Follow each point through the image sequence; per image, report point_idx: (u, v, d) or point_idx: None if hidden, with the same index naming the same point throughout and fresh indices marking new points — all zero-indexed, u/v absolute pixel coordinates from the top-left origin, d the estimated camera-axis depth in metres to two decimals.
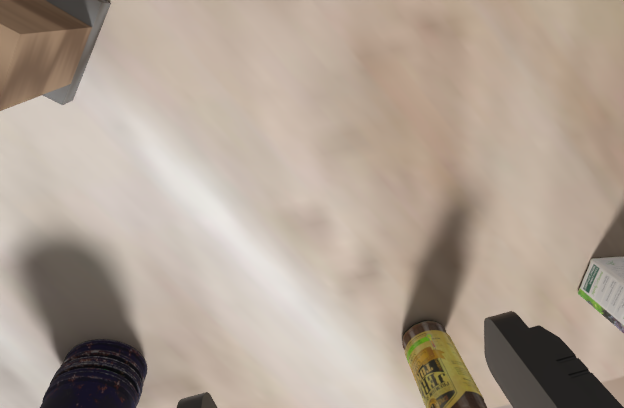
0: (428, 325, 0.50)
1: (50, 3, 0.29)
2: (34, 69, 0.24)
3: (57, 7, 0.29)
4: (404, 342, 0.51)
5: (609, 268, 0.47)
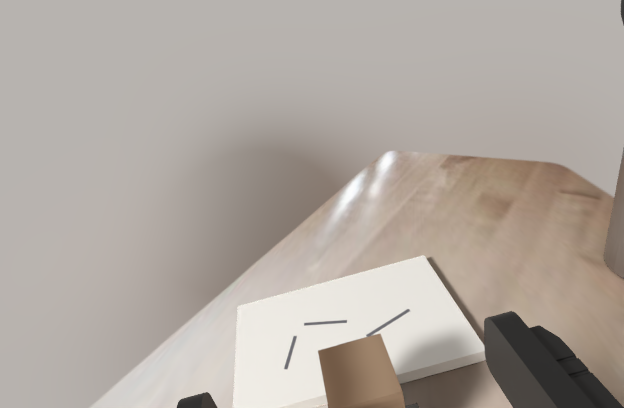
0: None
1: None
2: None
3: None
4: None
5: None
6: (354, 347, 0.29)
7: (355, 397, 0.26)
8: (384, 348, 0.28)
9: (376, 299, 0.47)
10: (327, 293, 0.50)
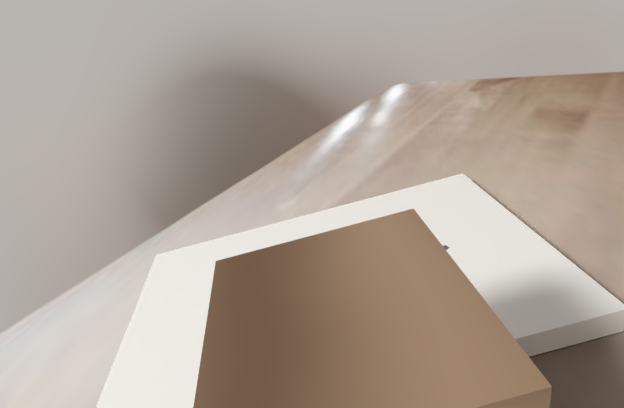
0: None
1: None
2: None
3: None
4: None
5: None
6: (330, 245, 0.09)
7: None
8: (432, 241, 0.08)
9: None
10: (302, 230, 0.30)
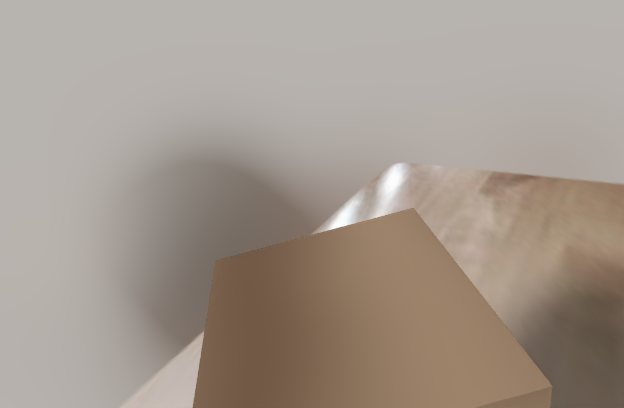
0: None
1: None
2: None
3: None
4: None
5: None
6: (330, 245, 0.09)
7: None
8: (432, 240, 0.08)
9: None
10: None
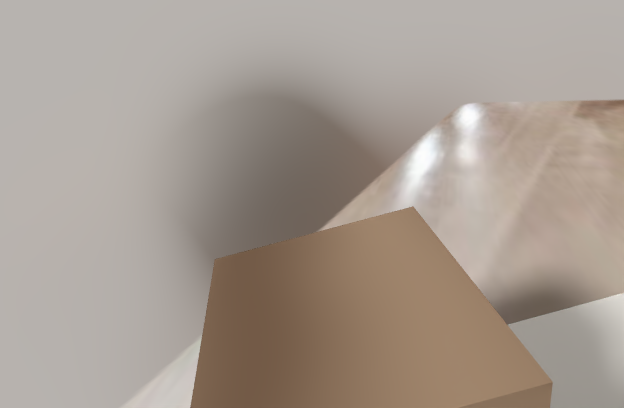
0: None
1: None
2: None
3: None
4: None
5: None
6: (329, 243, 0.09)
7: None
8: (432, 238, 0.08)
9: None
10: None
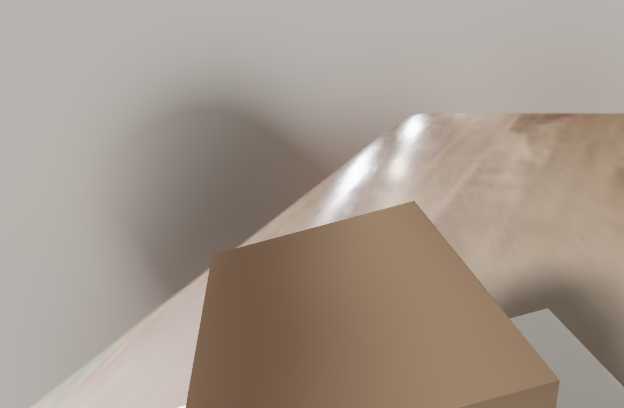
0: None
1: None
2: None
3: None
4: None
5: None
6: (329, 238, 0.09)
7: None
8: (434, 233, 0.08)
9: None
10: None
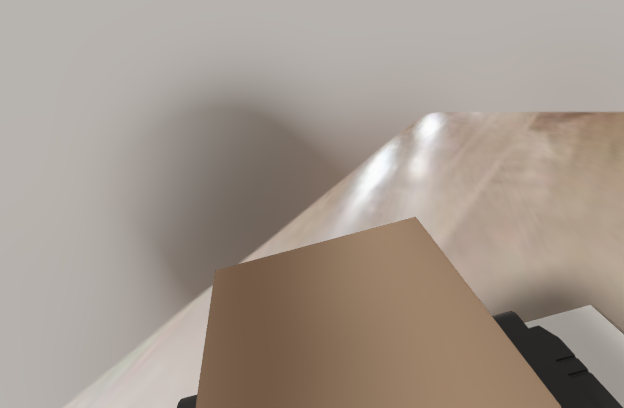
0: None
1: None
2: None
3: None
4: None
5: None
6: (331, 255, 0.09)
7: None
8: (435, 251, 0.08)
9: None
10: None
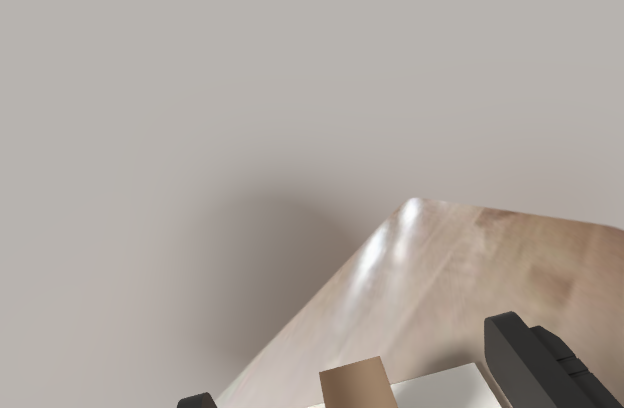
0: None
1: None
2: None
3: None
4: None
5: None
6: (354, 369, 0.30)
7: None
8: (383, 371, 0.29)
9: None
10: None
